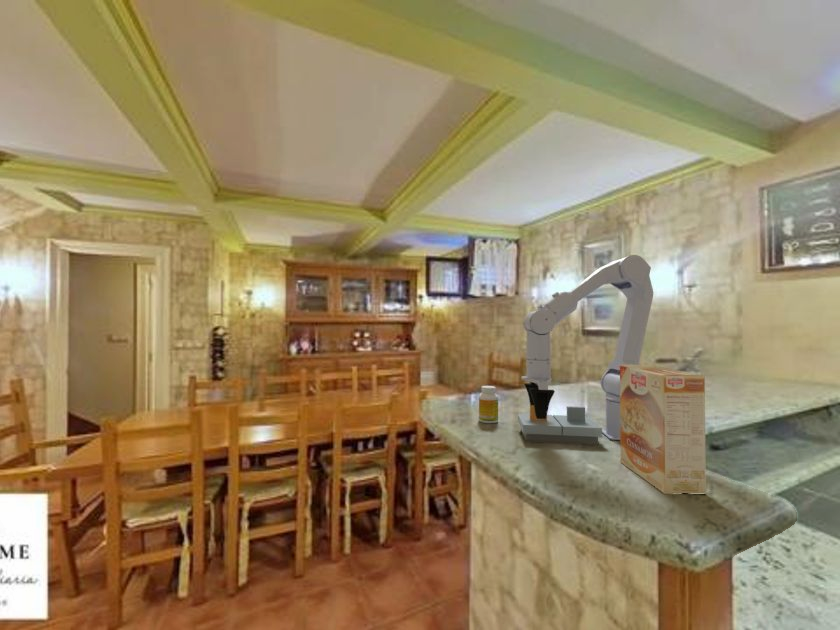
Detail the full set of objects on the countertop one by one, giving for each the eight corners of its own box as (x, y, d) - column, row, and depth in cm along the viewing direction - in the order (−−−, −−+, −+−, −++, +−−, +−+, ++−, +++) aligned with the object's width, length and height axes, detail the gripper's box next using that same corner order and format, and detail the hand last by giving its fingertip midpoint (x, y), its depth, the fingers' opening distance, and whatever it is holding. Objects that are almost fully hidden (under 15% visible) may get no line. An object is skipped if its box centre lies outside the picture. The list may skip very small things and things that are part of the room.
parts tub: (585, 432, 99) (585, 420, 99) (597, 444, 89) (597, 430, 89) (520, 429, 101) (520, 417, 101) (525, 441, 91) (526, 427, 91)
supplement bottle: (498, 424, 107) (498, 388, 107) (478, 423, 108) (478, 387, 108) (498, 419, 112) (498, 385, 112) (479, 418, 113) (479, 384, 113)
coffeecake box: (618, 462, 78) (618, 364, 78) (654, 462, 77) (654, 364, 78) (663, 494, 63) (662, 373, 63) (708, 495, 62) (707, 374, 63)
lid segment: (562, 435, 89) (562, 411, 89) (552, 422, 100) (552, 401, 100) (602, 437, 88) (602, 413, 88) (587, 424, 99) (587, 403, 99)
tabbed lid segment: (551, 422, 100) (551, 401, 100) (561, 435, 89) (561, 411, 89) (517, 421, 102) (517, 400, 102) (523, 433, 90) (523, 410, 90)
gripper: (518, 356, 103) (518, 407, 103) (525, 361, 89) (525, 421, 89) (545, 357, 102) (545, 408, 102) (557, 362, 88) (557, 422, 88)
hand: (538, 414), depth 95 cm, fingers open, 7 cm apart
